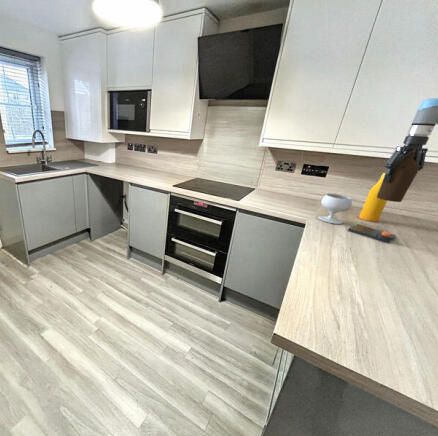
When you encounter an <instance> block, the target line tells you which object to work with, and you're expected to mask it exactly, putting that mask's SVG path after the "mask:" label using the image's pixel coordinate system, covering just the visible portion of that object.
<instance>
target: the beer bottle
mask: <svg viewBox="0 0 438 436" xmlns="http://www.w3.org/2000/svg"><path fill="white" fill-rule="evenodd" d="M385 173H386V172H383V173H382V174H381V176H380V178H379V180H378V181H377V182H376V183H375V184H374V185H373V186H372V187H371V188H370V190H369V192H368V194H367V197H366V199H365V201H364V204H363V206H362V208H361V211H360V213H359V216H358V217H359V219H361V220H364V221H367V222H371V223H377V222H379V220H380V217H381V215H382V214H383V211H384V209H385V207H386V205H387V202H388V201H387V200H383V199H379V198H377V195H378V192H379V190H380V187H381V184H382V182H383V179H384V176H385Z"/></svg>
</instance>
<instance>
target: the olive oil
mask: <svg viewBox="0 0 438 436" xmlns="http://www.w3.org/2000/svg"><path fill="white" fill-rule="evenodd" d="M415 151H416V149H415ZM415 151H414V152H413V153H411V154H410V155H409V156H408V157H406V158H404V159H403V160H402V161H401V162H400V163H399V164H398V165H397V166H396V167H395V168H394V169H395V171H394V174H393V176H392V178H391V180H390V182H384V181H383V182H382V184H381V187H380V190H379V192H378V195H377V198H379V199H383V200H387V202H393V203H394V202H395V203H401V202H403V199H404V198H405V196H406V194H407V193H408V190H409V188H410V187H411V185H412V183H413V182H414V179H415V178H416V177H417V174H418V173H419V166H418V164H417V163H416V161H415V160H414V158H413V157H414V155H415V153H416V152H415ZM384 177H385V176H384Z"/></svg>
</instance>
